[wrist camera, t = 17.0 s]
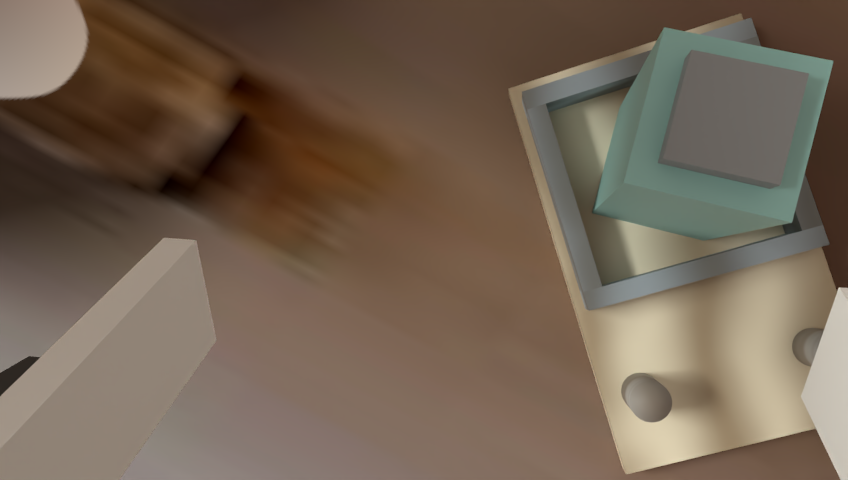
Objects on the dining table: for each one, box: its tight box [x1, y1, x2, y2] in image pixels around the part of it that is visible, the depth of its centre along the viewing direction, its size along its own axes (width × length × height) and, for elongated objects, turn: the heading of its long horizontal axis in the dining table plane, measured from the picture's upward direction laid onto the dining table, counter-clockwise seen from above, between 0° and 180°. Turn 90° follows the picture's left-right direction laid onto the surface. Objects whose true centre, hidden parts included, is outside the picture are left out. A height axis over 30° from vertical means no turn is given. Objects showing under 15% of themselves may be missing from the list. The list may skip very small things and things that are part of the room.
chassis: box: [508, 13, 837, 474], centre depth 35 cm, size 13×22×4 cm, turn 16°
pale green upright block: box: [592, 27, 833, 241], centre depth 30 cm, size 6×6×13 cm
